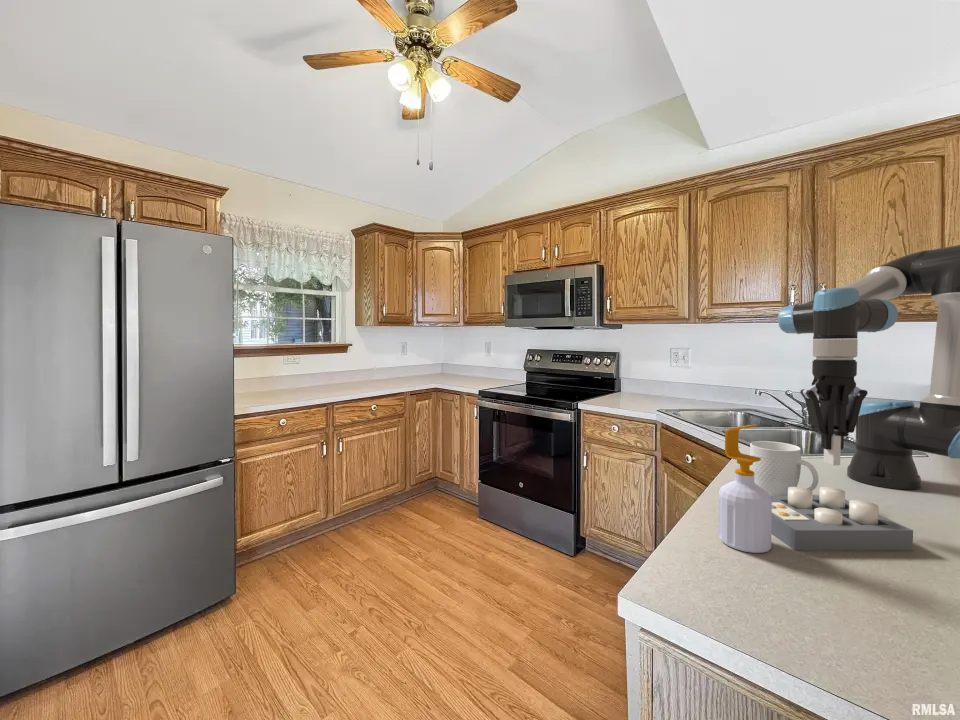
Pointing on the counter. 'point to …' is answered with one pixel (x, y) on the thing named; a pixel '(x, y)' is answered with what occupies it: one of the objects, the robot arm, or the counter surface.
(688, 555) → the counter surface
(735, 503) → the soap bottle
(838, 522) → the button
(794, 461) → the mug
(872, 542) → the button board
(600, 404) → the counter surface
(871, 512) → the button
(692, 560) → the counter surface
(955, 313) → the robot arm
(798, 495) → the button
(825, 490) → the button
